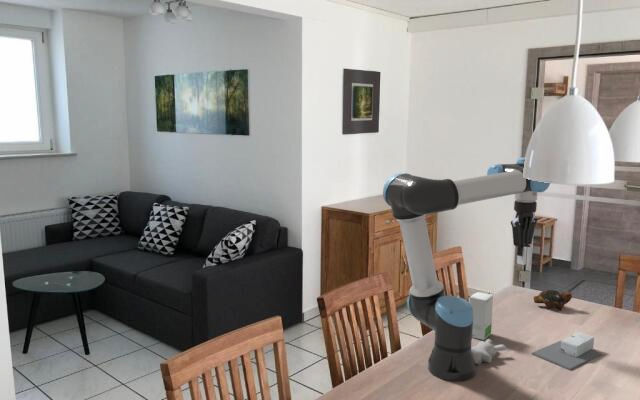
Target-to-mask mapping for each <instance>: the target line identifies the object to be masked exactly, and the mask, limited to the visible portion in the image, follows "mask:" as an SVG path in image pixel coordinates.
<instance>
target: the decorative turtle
mask: <svg viewBox="0 0 640 400" xmlns="http://www.w3.org/2000/svg"><path fill="white" fill-rule="evenodd" d="M572 298H573V295H572V293H571V292H570V291H563V292H562V293H561V292H560V291H557V290H555V289H547V290H544V291H541V292H539V294H538V295H535V296H533V298H532V299H533V302H534V303H535V304H544V305H545V307H546V309H547V310H552V309H553V308H555V309H556V310H557V311H559V312H561V311H562V310H563V309H564V307H565V305H567V304H568V303H569V302H570V301H571V300H572Z"/></svg>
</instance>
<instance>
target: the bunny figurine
mask: <svg viewBox="0 0 640 400" xmlns="http://www.w3.org/2000/svg"><path fill="white" fill-rule="evenodd" d="M492 343H493V340H492V339H490V338H486V339H485V340H481V341H479V342H477V344H476V345H474V346H472V345H471V351H472V355H473V360H474V362H475V365H478V366H479V365H481V364H482V362H484V363H488V364H489V363H492V359H493V358H494V357H495V355H496V352H499V351H500V352H501V351H506V350H507V349H506V346H505V344H497V345H494V344H492Z"/></svg>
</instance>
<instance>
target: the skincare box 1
mask: <svg viewBox="0 0 640 400" xmlns="http://www.w3.org/2000/svg"><path fill="white" fill-rule="evenodd" d="M493 300H494V294H490V293H485V292H481V291H477V292H475V293H473V294H472V295H471V296H470V297H469V303H470V304H471V306H472V308H473V317H474V318H473V328H472V338H474V339H477V340H481V341H486V340H487V339H488V337H490V335H491V334H492V324H493V323H492V321H493V307H494V306H493V302H494V301H493Z"/></svg>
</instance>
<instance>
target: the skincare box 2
mask: <svg viewBox="0 0 640 400" xmlns="http://www.w3.org/2000/svg"><path fill="white" fill-rule="evenodd" d="M563 339H564V340H563ZM563 339H561V340H562V341H561V340H560V341H561V350H560V351H561V352H564V353H566V354H568V355H572V356H575V357H578V356H580V355H582V354H583V353H585V352H587V351H589V350H590V349H592V350H593V349H594V344H595V337H594V336H592V335H589V334H587V333H583V332H580V331H578V332H575V333H574V334H571V335H570V336H568V337H565V338H563Z"/></svg>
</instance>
